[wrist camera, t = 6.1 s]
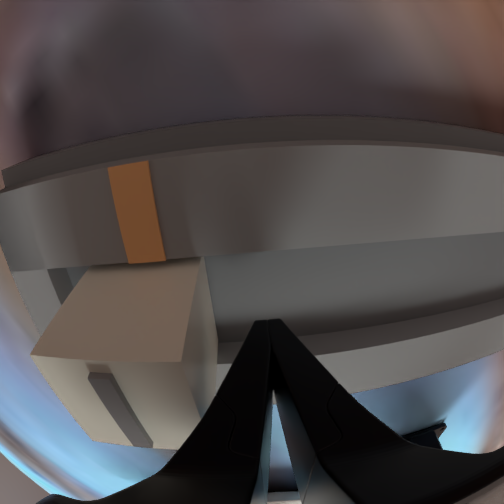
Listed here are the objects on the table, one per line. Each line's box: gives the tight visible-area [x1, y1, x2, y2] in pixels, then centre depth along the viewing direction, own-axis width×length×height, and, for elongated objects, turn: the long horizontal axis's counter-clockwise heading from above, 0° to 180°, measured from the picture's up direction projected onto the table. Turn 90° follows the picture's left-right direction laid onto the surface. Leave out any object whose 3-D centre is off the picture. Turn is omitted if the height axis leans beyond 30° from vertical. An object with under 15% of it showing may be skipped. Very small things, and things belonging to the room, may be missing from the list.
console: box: [0, 115, 504, 405], centre depth 12 cm, size 12×26×3 cm, turn 94°
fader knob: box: [30, 256, 218, 450], centre depth 9 cm, size 4×4×5 cm
